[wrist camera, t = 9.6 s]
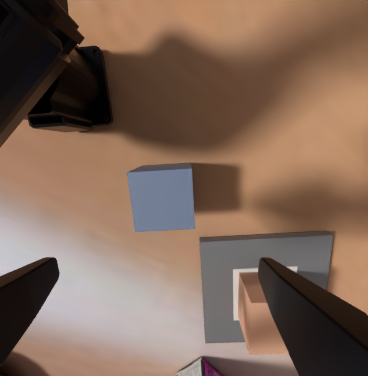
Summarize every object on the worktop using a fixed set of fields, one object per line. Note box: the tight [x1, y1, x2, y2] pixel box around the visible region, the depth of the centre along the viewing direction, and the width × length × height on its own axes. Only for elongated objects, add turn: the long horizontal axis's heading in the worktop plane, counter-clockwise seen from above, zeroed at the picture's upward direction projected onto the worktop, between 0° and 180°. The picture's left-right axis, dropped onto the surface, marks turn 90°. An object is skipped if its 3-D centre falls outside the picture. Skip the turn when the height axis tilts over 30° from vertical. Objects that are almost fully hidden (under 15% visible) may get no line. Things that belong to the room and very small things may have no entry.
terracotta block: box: [238, 272, 289, 354], centre depth 19 cm, size 6×6×4 cm
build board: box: [200, 231, 333, 343], centre depth 21 cm, size 14×14×1 cm
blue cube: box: [127, 163, 195, 232], centre depth 17 cm, size 5×5×5 cm
